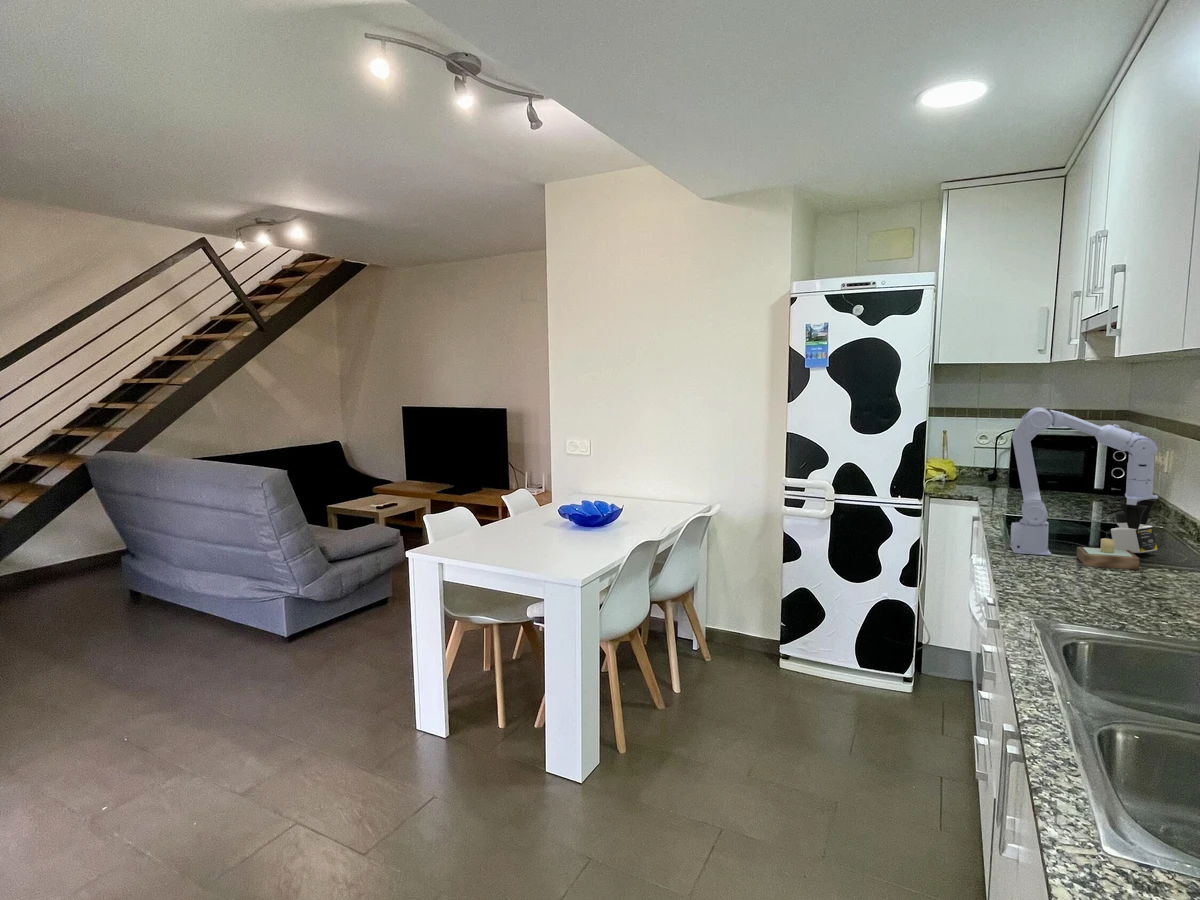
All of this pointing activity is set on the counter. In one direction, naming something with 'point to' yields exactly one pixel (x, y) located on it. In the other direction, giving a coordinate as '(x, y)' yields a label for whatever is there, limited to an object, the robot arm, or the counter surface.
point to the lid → (1107, 549)
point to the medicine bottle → (1133, 536)
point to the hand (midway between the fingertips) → (1137, 526)
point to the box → (1108, 560)
